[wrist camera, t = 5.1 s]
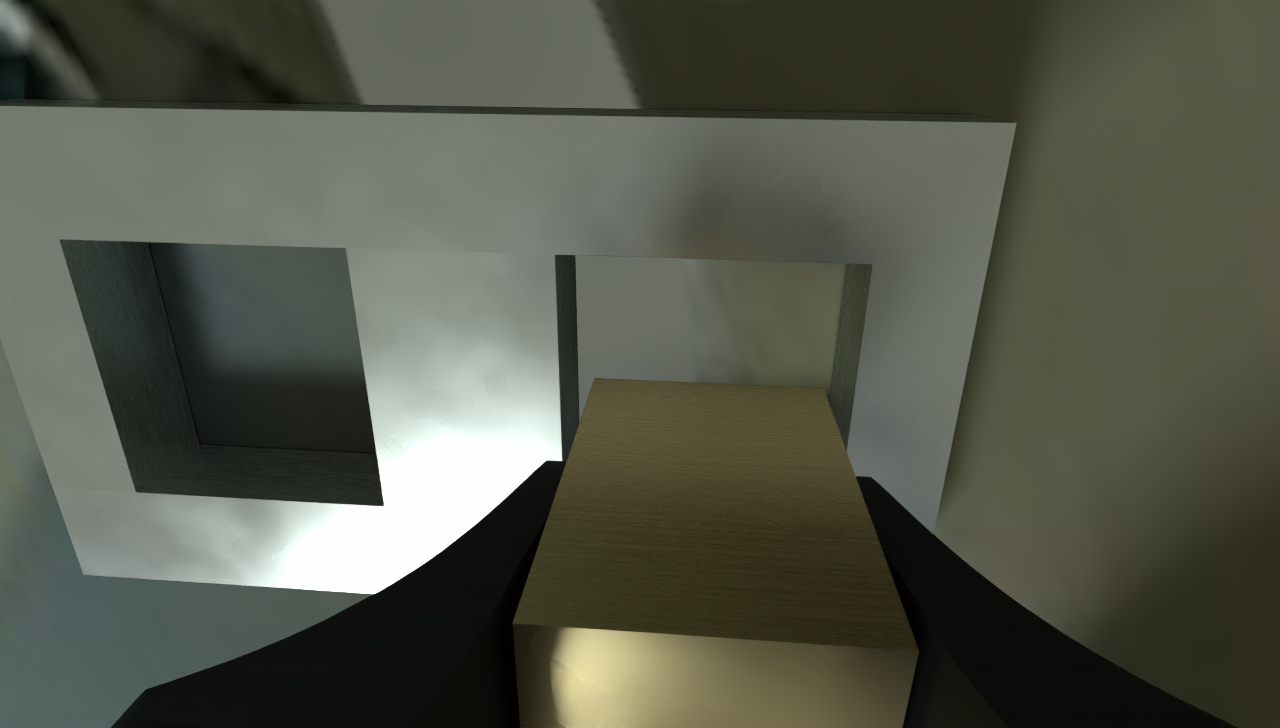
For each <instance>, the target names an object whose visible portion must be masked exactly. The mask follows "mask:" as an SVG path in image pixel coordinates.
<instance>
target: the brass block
mask: <svg viewBox="0 0 1280 728" xmlns="http://www.w3.org/2000/svg"><path fill="white" fill-rule="evenodd" d="M512 625H513V638H514V651H515V665H516V678H517V691H518V705H519V718H520V728H902V727H903V723H904V718H905V714H906V709H907V704H908V700H909V695H910V691H911V686H912V682H913V677H914V672H915V668H916V663H917V659H918V654H919V650H918V647H917V644H916V641H915V639H914V636H913V633H912V630H911V628H910V625H909V622H908V619H907V617H906V614H905V611H904V608H903V606H902V603H901V600H900V597H899V595H898V592H897V589H896V586H895V584H894V581H893V578H892V575H891V573H890V570H889V567H888V564H887V562H886V559H885V556H884V553H883V551H882V548H881V545H880V542H879V539H878V537H877V534H876V531H875V528H874V526H873V523H872V520H871V517H870V515H869V512H868V509H867V506H866V504H865V501H864V498H863V495H862V493H861V490H860V487H859V484H858V482H857V479H856V476H855V473H854V471H853V468H852V465H851V462H850V460H849V457H848V454H847V451H846V449H845V446H844V443H843V440H842V438H841V435H840V432H839V429H838V427H837V424H836V421H835V418H834V416H833V413H832V410H831V407H830V404H829V402H828V399H827V396H826V393H825V391H824V388H804V387H782V386H759V385H737V384H714V383H692V382H669V381H644V380H622V379H601V378H595V379H594V382H593V384H592V388H591V391H590V393H589V397H588V399H587V402H586V405H585V408H584V411H583V414H582V417H581V420H580V423H579V426H578V429H577V432H576V435H575V438H574V441H573V444H572V447H571V450H570V453H569V456H568V459H567V462H566V465H565V468H564V471H563V474H562V477H561V480H560V483H559V486H558V489H557V492H556V495H555V498H554V501H553V504H552V507H551V510H550V513H549V516H548V519H547V522H546V525H545V528H544V531H543V534H542V537H541V540H540V543H539V546H538V549H537V552H536V555H535V558H534V561H533V563H532V566H531V569H530V572H529V575H528V578H527V581H526V584H525V587H524V590H523V593H522V596H521V599H520V602H519V605H518V608H517V611H516V614H515V617H514V620H513V623H512Z"/></svg>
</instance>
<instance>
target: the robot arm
mask: <svg viewBox="0 0 1280 728" xmlns="http://www.w3.org/2000/svg"><path fill="white" fill-rule="evenodd" d="M566 462H567V461H551V460H547V461H545V462H544V463H543V464H542V465H541V466H540V467H539V468H537V469H536V470H535V471H534V472H533V473H532V474H531V475H530V476H529V477H528V478H526V479H525V480H524V481H523V482H522V483H521V484H520V485H519V486H518V487H517V488H516V489H515V490H514V491H513V492H511V493H510V494H509V495H508V496H507V497H506V498H505V499H504V500H503V501H502V502H501V503H499V504H498V505H497V506H496V507H495V508H494V509H493V510H491V511H490V512H489V513H488V514H487V515H486V516H485V517H483V518H482V519H481V520H480V521H479V522H478V523H477V524H475V525H474V526H473V527H472V528H470V529H469V530H468V531H466V532H465V533H464V534H463V535H461V536H460V537H459V538H458V539H456V540H455V541H454V542H452V543H451V544H450V545H449V546H447V547H446V548H445V549H443V550H442V551H441V552H439V553H438V554H437V555H435V556H434V557H432V558H431V559H430V560H428V561H427V562H425V563H424V564H422V565H421V566H419V567H418V568H416V569H415V570H413V571H411V572H410V573H408V574H407V575H405V576H404V577H402V578H400V579H399V580H397V581H396V582H394V583H392V584H391V585H389V586H387V587H386V588H384V589H382V590H381V591H379V592H377V593H375V594H373V595H371V596H370V597H368V598H366V599H364V600H362V601H360V602H358V603H356V604H354V605H353V606H351V607H349V608H347V609H345V610H343V611H341V612H339V613H338V614H336V615H334V616H332V617H330V618H328V619H326V620H324V621H322V622H320V623H318V624H316V625H314V626H311V627H309V628H307V629H305V630H303V631H300V632H298V633H296V634H294V635H292V636H290V637H287V638H285V639H282V640H280V641H278V642H275V643H273V644H271V645H268V646H266V647H263V648H261V649H259V650H256V651H254V652H251V653H249V654H246V655H243V656H241V657H238V658H236V659H233V660H230V661H228V662H225V663H222V664H219V665H216V666H213V667H210V668H207V669H205V670H202V671H199V672H196V673H193V674H190V675H187V676H185V677H182V678H179V679H176V680H173V681H170V682H167V683H164V684H161V685H158V686H155V687H152V688H149V689H146V690H145V691H144V692H143V693H142V694H141V695H140V696H139V697H138V698H137V699H136V700H135V701H134V702H133V704H132V705H131V706H130V707H129V708H128V709H127V710H126V711H125V712H124V714H123V715H122V716H121V717H120V718H119V719H118V720H117V721H116V723H115V724H114V725H113V726H112V727H111V728H520V718H519V705H518V691H517V678H516V665H515V651H514V638H513V625H512V623H513V620H514V617H515V614H516V611H517V608H518V605H519V602H520V599H521V596H522V593H523V590H524V587H525V584H526V581H527V578H528V575H529V572H530V569H531V566H532V563H533V561H534V558H535V555H536V552H537V549H538V546H539V543H540V540H541V537H542V534H543V531H544V528H545V525H546V522H547V519H548V516H549V513H550V510H551V507H552V504H553V501H554V498H555V495H556V492H557V489H558V486H559V483H560V480H561V477H562V474H563V471H564V468H565V465H566ZM856 479H857V482H858V484H859V487H860V490H861V493H862V495H863V498H864V501H865V504H866V506H867V509H868V512H869V515H870V517H871V520H872V523H873V526H874V528H875V531H876V534H877V537H878V539H879V542H880V545H881V548H882V551H883V553H884V556H885V559H886V562H887V564H888V567H889V570H890V573H891V575H892V578H893V581H894V584H895V586H896V589H897V592H898V595H899V597H900V600H901V603H902V606H903V608H904V611H905V614H906V617H907V619H908V622H909V625H910V628H911V630H912V633H913V636H914V639H915V641H916V644H917V647H918V650H919V654H918V659H917V663H916V668H915V672H914V677H913V682H912V686H911V691H910V695H909V700H908V704H907V709H906V714H905V718H904V723H903V727H902V728H1237V727H1235V726H1233V725H1231V724H1229V723H1227V722H1225V721H1223V720H1221V719H1219V718H1217V717H1215V716H1213V715H1211V714H1209V713H1207V712H1204V711H1202V710H1200V709H1198V708H1196V707H1194V706H1192V705H1190V704H1188V703H1186V702H1184V701H1182V700H1180V699H1178V698H1176V697H1174V696H1172V695H1170V694H1168V693H1166V692H1164V691H1163V690H1161V689H1159V688H1157V687H1155V686H1153V685H1151V684H1149V683H1147V682H1145V681H1144V680H1142V679H1140V678H1138V677H1136V676H1134V675H1133V674H1131V673H1129V672H1128V671H1126V670H1124V669H1122V668H1121V667H1119V666H1117V665H1115V664H1114V663H1112V662H1110V661H1108V660H1107V659H1105V658H1103V657H1101V656H1100V655H1098V654H1096V653H1094V652H1093V651H1091V650H1089V649H1088V648H1086V647H1084V646H1083V645H1081V644H1080V643H1078V642H1076V641H1075V640H1073V639H1071V638H1070V637H1068V636H1067V635H1065V634H1063V633H1062V632H1060V631H1059V630H1057V629H1056V628H1054V627H1053V626H1052V625H1050V624H1049V623H1047V622H1046V621H1044V620H1043V619H1041V618H1040V617H1038V616H1037V615H1035V614H1034V613H1032V612H1031V611H1029V610H1028V609H1026V608H1025V607H1023V606H1022V605H1020V604H1019V603H1018V602H1016V601H1015V600H1014V599H1012V598H1011V597H1009V596H1008V595H1007V594H1005V593H1004V592H1003V591H1001V590H1000V589H999V588H998V587H996V586H995V585H994V584H992V583H991V582H990V581H989V580H987V579H986V578H985V577H984V576H982V575H981V574H980V573H978V572H977V571H976V570H975V569H973V568H972V567H971V566H970V565H968V564H967V563H966V562H965V561H964V560H962V559H961V558H960V557H959V556H958V555H957V554H955V553H954V552H953V551H952V550H951V549H949V548H948V547H947V546H946V545H945V544H944V543H943V542H941V541H940V540H939V539H938V538H937V537H936V536H935V535H934V534H932V533H931V532H930V531H929V530H928V529H927V528H926V527H925V526H924V525H923V524H922V523H920V522H919V521H918V520H917V519H916V518H915V517H914V516H913V515H912V514H911V513H910V512H909V511H908V510H907V509H905V508H904V507H903V506H902V505H901V504H900V503H899V502H898V501H897V500H896V499H895V498H894V497H893V496H892V495H891V494H890V493H889V492H887V491H886V490H885V489H884V488H883V487H882V486H881V485H880V484H879V483H878V482H877V481H875V480H874V479H873V478H872V477H865V476H856Z"/></svg>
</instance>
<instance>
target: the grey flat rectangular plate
mask: <svg viewBox="0 0 1280 728" xmlns="http://www.w3.org/2000/svg"><path fill="white" fill-rule="evenodd" d="M1016 124H1017V123H1014V122H1008V121H1003V120H998V119H992V118H987V117H981V116H976V115H970V114H908V113H845V112H783V111H721V110H658V109H594V108H531V107H471V106H466V107H465V106H409V105H346V104H284V103H222V102H159V101H97V100H35V99H19V100H0V340H1V343H2V346H3V349H4V351H5V354H6V357H7V360H8V363H9V365H10V368H11V371H12V374H13V377H14V380H15V382H16V385H17V388H18V391H19V394H20V397H21V399H22V402H23V405H24V408H25V411H26V413H27V416H28V419H29V422H30V425H31V428H32V430H33V433H34V436H35V439H36V442H37V445H38V447H39V450H40V453H41V456H42V459H43V461H44V464H45V467H46V470H47V473H48V476H49V478H50V481H51V484H52V487H53V490H54V493H55V495H56V498H57V501H58V504H59V507H60V510H61V512H62V515H63V518H64V521H65V524H66V526H67V529H68V532H69V535H70V538H71V541H72V543H73V546H74V549H75V552H76V555H77V558H78V560H79V563H80V566H81V569H82V572H83V574H84V575H96V576H111V577H126V578H142V579H157V580H172V581H187V582H202V583H218V584H233V585H248V586H263V587H278V588H294V589H309V590H324V591H339V592H355V593H370V594H375V593H377V592H379V591H381V590H382V589H384V588H386V587H387V586H389V585H391V584H392V583H394V582H396V581H397V580H399V579H400V578H402V577H404V576H405V575H407V574H408V573H410V572H411V571H413V570H415V569H416V568H418V567H419V566H421V565H422V564H424V563H425V562H427V561H428V560H430V559H431V558H432V557H434V556H435V555H437V554H438V553H439V552H441V551H442V550H443V549H445V548H446V547H447V546H449V545H450V544H451V543H452V542H454V541H455V540H456V539H458V538H459V537H460V536H461V535H463V534H464V533H465V532H466V531H468V530H469V529H470V528H472V527H473V526H474V525H475V524H477V523H478V522H479V521H480V520H481V519H482V518H483V517H485V516H486V515H487V514H488V513H489V512H490V511H491V510H493V509H494V508H495V507H496V506H497V505H498V504H499V503H501V502H502V501H503V500H504V499H505V498H506V497H507V496H508V495H509V494H510V493H511V492H513V491H514V490H515V489H516V488H517V487H518V486H519V485H520V484H521V483H522V482H523V481H524V480H525V479H526V478H528V477H529V476H530V475H531V474H532V473H533V472H534V471H535V470H536V469H537V468H539V467H540V466H541V465H542V464H543V463H544V462H545V461H547V460H551V461H567V459H568V456H569V453H570V450H571V447H572V444H573V441H574V438H575V435H576V432H577V429H578V426H579V391H578V351H577V350H578V349H577V308H576V269H575V255H588V256H620V257H653V258H685V259H718V260H751V261H783V262H816V263H846V270H845V278H844V286H843V294H842V302H841V310H840V318H839V326H838V334H837V342H836V350H835V358H834V366H833V374H832V383H831V391H830V399H829V404H830V407H831V410H832V413H833V416H834V418H835V421H836V424H837V427H838V429H839V432H840V435H841V438H842V440H843V443H844V446H845V449H846V451H847V454H848V457H849V460H850V462H851V465H852V468H853V471H854V473H855V476H865V477H872V478H873V479H874V480H875V481H877V482H878V483H879V484H880V485H881V486H882V487H883V488H884V489H885V490H886V491H887V492H889V493H890V494H891V495H892V496H893V497H894V498H895V499H896V500H897V501H898V502H899V503H900V504H901V505H902V506H903V507H904V508H905V509H907V510H908V511H909V512H910V513H911V514H912V515H913V516H914V517H915V518H916V519H917V520H918V521H919V522H920V523H922V524H923V525H924V526H925V527H926V528H927V529H928V530H929V531H930V532H931V533H932V534H934V530H935V525H936V520H937V515H938V510H939V506H940V501H941V496H942V491H943V486H944V481H945V476H946V471H947V466H948V461H949V456H950V451H951V446H952V441H953V436H954V431H955V426H956V421H957V416H958V411H959V406H960V401H961V396H962V391H963V387H964V382H965V377H966V372H967V367H968V362H969V357H970V352H971V347H972V342H973V337H974V332H975V327H976V322H977V317H978V312H979V307H980V302H981V297H982V292H983V287H984V282H985V277H986V273H987V268H988V263H989V258H990V253H991V248H992V243H993V238H994V233H995V228H996V223H997V218H998V213H999V208H1000V203H1001V198H1002V193H1003V188H1004V183H1005V178H1006V173H1007V168H1008V163H1009V158H1010V154H1011V149H1012V144H1013V139H1014V134H1015V129H1016ZM148 242H164V243H197V244H229V245H262V246H294V247H327V248H346V252H347V259H348V265H349V272H350V279H351V286H352V292H353V299H354V306H355V312H356V319H357V326H358V333H359V339H360V346H361V353H362V359H363V366H364V373H365V380H366V386H367V393H368V400H369V406H370V413H371V420H372V427H373V433H374V440H375V447H376V454H371V453H351V452H332V451H312V450H293V449H274V448H254V447H235V446H215V445H199V441H198V437H197V433H196V429H195V425H194V422H193V418H192V414H191V410H190V406H189V402H188V398H187V394H186V390H185V386H184V382H183V379H182V375H181V371H180V367H179V363H178V359H177V355H176V351H175V347H174V343H173V339H172V336H171V332H170V328H169V324H168V320H167V316H166V312H165V308H164V304H163V300H162V296H161V292H160V289H159V285H158V281H157V277H156V273H155V269H154V265H153V261H152V257H151V253H150V249H149V246H148Z"/></svg>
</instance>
